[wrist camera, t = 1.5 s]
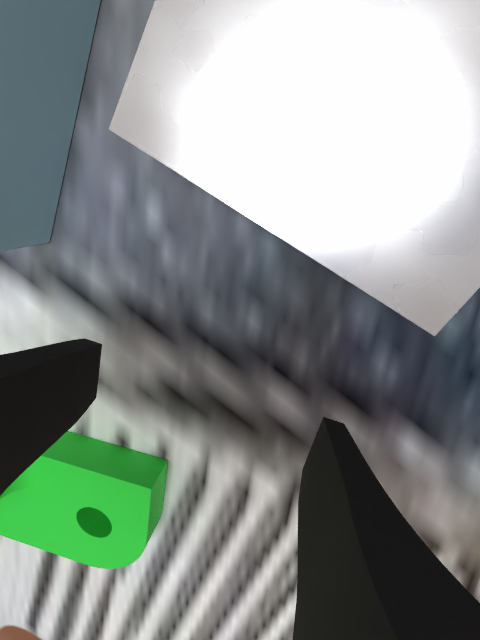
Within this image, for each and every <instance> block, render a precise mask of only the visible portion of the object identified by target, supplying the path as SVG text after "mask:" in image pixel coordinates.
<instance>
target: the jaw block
mask: <svg viewBox="0 0 480 640" xmlns="http://www.w3.org/2000/svg"><path fill="white" fill-rule="evenodd" d="M109 130H111V131H112V132H114V133H116V134H117V135H119V136H120V137H122V138H123V139H125V140H127V141H128V142H130V143H131V144H133V145H135V146H136V147H138V148H139V149H141V150H142V151H144V152H146V153H147V154H149V155H150V156H152V157H153V158H155V159H157V160H158V161H160V162H161V163H163V164H164V165H166V166H168V167H169V168H171V169H172V170H174V171H175V172H177V173H179V174H180V175H182V176H183V177H185V178H186V179H188V180H190V181H191V182H193V183H194V184H196V185H197V186H199V187H201V188H202V189H204V190H205V191H207V192H208V193H210V194H212V195H213V196H215V197H216V198H218V199H220V200H221V201H223V202H224V203H226V204H227V205H229V206H231V207H232V208H234V209H235V210H237V211H238V212H240V213H242V214H243V215H245V216H246V217H248V218H249V219H251V220H253V221H254V222H256V223H257V224H259V225H260V226H262V227H264V228H265V229H267V230H268V231H270V232H271V233H273V234H275V235H276V236H278V237H279V238H281V239H282V240H284V241H286V242H287V243H289V244H290V245H292V246H294V247H295V248H297V249H298V250H300V251H301V252H303V253H305V254H306V255H308V256H309V257H311V258H312V259H314V260H316V261H317V262H319V263H320V264H322V265H323V266H325V267H327V268H328V269H330V270H331V271H333V272H334V273H336V274H338V275H339V276H341V277H342V278H344V279H345V280H347V281H349V282H350V283H352V284H353V285H355V286H356V287H358V288H360V289H361V290H363V291H364V292H366V293H367V294H369V295H371V296H372V297H374V298H375V299H377V300H379V301H380V302H382V303H383V304H385V305H386V306H388V307H390V308H391V309H393V310H394V311H396V312H397V313H399V314H401V315H402V316H404V317H405V318H407V319H408V320H410V321H412V322H413V323H415V324H416V325H418V326H419V327H421V328H423V329H424V330H426V331H427V332H429V333H430V334H432V335H434V336H435V335H436V334H437V333H438V332H439V331H440V330H441V329H442V328H443V327H444V326H445V325H446V323H447V322H448V321H449V320H450V319H451V318H452V317H453V316H454V315H455V314H456V313H457V312H458V310H459V309H460V308H461V307H462V306H463V305H464V304H465V303H466V302H467V301H468V300H469V299H470V297H471V296H472V295H473V294H474V293H475V292H476V291H477V290H478V289H479V288H480V0H155V2H154V5H153V8H152V11H151V13H150V16H149V19H148V22H147V24H146V27H145V30H144V33H143V36H142V38H141V41H140V44H139V47H138V49H137V52H136V55H135V58H134V61H133V63H132V66H131V69H130V72H129V74H128V77H127V80H126V83H125V85H124V88H123V91H122V94H121V97H120V99H119V102H118V105H117V108H116V110H115V113H114V116H113V119H112V122H111V124H110V127H109Z"/></svg>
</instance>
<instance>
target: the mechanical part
mask: <svg viewBox="0 0 480 640" xmlns="http://www.w3.org/2000/svg"><path fill="white" fill-rule="evenodd" d="M167 465H168V460H165V459H162V458H158V457H155V456H151V455H148V454H145V453H141V452H138V451H134V450H131V449H127V448H124V447H121V446H117V445H114V444H110V443H107V442H103V441H100V440H97V439H93V438H90V437H86V436H83V435H80V434H76V433H73V432H69V431H67V432H66V433H65V434H64V435H63V436H62V437H60V438H59V439H58V440H57V441H56V442H55V443H54V444H53V445H52V446H51V447H50V448H49V449H48V450H47V451H46V452H44V453H43V454H42V455H41V456H40V457H39V458H38V459H37V460H36V461H35V462H34V463H33V464H32V465H31V466H30V467H28V468H27V469H26V470H25V471H24V472H23V473H22V474H21V475H20V476H19V477H18V478H17V479H16V480H15V481H14V482H13V483H12V484H11V485H10V486H9V487H8V488H7V489H6V490H5V491H4V492H3V494H2V495H1V496H0V535H2V536H5V537H8V538H11V539H13V540H16V541H19V542H22V543H25V544H28V545H31V546H34V547H37V548H39V549H42V550H45V551H48V552H51V553H54V554H57V555H60V556H63V557H66V558H68V559H71V560H74V561H77V562H80V563H83V564H86V565H89V566H93V567H97V568H105V569H115V568H121V567H125V566H127V565H129V564H131V563H133V562H134V561H136V560H137V559H138V558H139V557H140V556H141V554H142V553H143V551H144V549H145V547H146V545H147V543H148V541H149V539H150V537H151V535H152V533H153V531H154V529H155V527H156V525H157V523H158V521H159V519H160V517H161V514H162V509H163V501H164V492H165V483H166V474H167Z"/></svg>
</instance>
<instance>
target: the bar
mask: <svg viewBox="0 0 480 640" xmlns="http://www.w3.org/2000/svg"><path fill="white" fill-rule="evenodd" d="M100 1H101V0H0V251H4V250H10V249H16V248H22V247H27V246H33V245H39V244H45V243H50V238H51V233H52V228H53V224H54V219H55V214H56V209H57V205H58V200H59V195H60V190H61V186H62V181H63V176H64V172H65V167H66V162H67V157H68V153H69V148H70V143H71V138H72V134H73V129H74V124H75V120H76V115H77V110H78V105H79V101H80V96H81V91H82V86H83V82H84V77H85V72H86V67H87V63H88V58H89V53H90V49H91V44H92V39H93V34H94V30H95V25H96V20H97V15H98V11H99V6H100Z"/></svg>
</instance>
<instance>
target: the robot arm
mask: <svg viewBox="0 0 480 640" xmlns="http://www.w3.org/2000/svg"><path fill="white" fill-rule="evenodd" d="M101 348H102V344H100V343H97V342H94V341H91V340H88V339H77V340H71V341H66V342H61V343H56V344H51V345H47V346H42V347H37V348H33V349H28V350H24V351H19V352H14V353H9V354H3V355H0V496H1V495H2V494H3V492H4V491H5V490H6V489H7V488H8V487H9V486H10V485H11V484H12V483H13V482H14V481H15V480H16V479H17V478H18V477H19V476H20V475H21V474H22V473H23V472H24V471H25V470H26V469H27V468H28V467H30V466H31V465H32V464H33V463H34V462H35V461H36V460H37V459H38V458H39V457H40V456H41V455H42V454H43V453H44V452H46V451H47V450H48V449H49V448H50V447H51V446H52V445H53V444H54V443H55V442H56V441H57V440H58V439H59V438H60V437H62V436H63V435H64V434H65V433H66V432H67V431H68V430H69V429H70V428H71V427H72V426H73V425H74V424H75V423H76V422H77V421H78V420H79V418H80V417H81V416H82V415H83V414H84V412H85V411H86V410H87V409H88V407H89V406H90V405H91V404H92V402H93V401H94V400H95V398H96V394H97V385H98V376H99V367H100V358H101ZM293 640H480V603H479V602H478V601H477V600H476V599H475V598H474V597H473V596H472V595H471V594H470V593H469V592H468V591H467V590H466V589H465V588H464V587H463V586H462V585H461V583H460V582H459V581H458V580H457V579H456V578H455V577H454V576H453V575H452V574H451V573H450V572H449V571H448V569H447V568H446V567H445V566H444V565H443V564H442V563H441V562H440V561H439V560H438V558H437V557H436V556H435V555H434V554H433V553H432V552H431V550H430V549H429V548H428V547H427V546H426V544H425V543H424V542H423V541H422V540H421V538H420V537H419V536H418V535H417V533H416V532H415V531H414V530H413V528H412V527H411V526H410V525H409V524H408V522H407V521H406V520H405V518H404V517H403V516H402V514H401V513H400V512H399V510H398V509H397V508H396V506H395V505H394V503H393V502H392V500H391V499H390V498H389V496H388V495H387V493H386V492H385V490H384V489H383V487H382V486H381V484H380V483H379V481H378V480H377V478H376V477H375V475H374V474H373V472H372V470H371V469H370V467H369V466H368V464H367V462H366V461H365V459H364V457H363V456H362V454H361V452H360V450H359V449H358V447H357V445H356V444H355V442H354V440H353V438H352V437H351V435H350V433H349V431H348V430H347V428H346V426H345V425H344V423H340V422H337V421H334V420H331V419H328V418H325V417H323V420H322V422H321V425H320V427H319V430H318V432H317V435H316V437H315V440H314V442H313V445H312V447H311V450H310V452H309V455H308V457H307V460H306V462H305V465H304V467H303V471H302V478H301V485H300V493H299V501H298V583H297V603H296V613H295V623H294V633H293Z"/></svg>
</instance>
